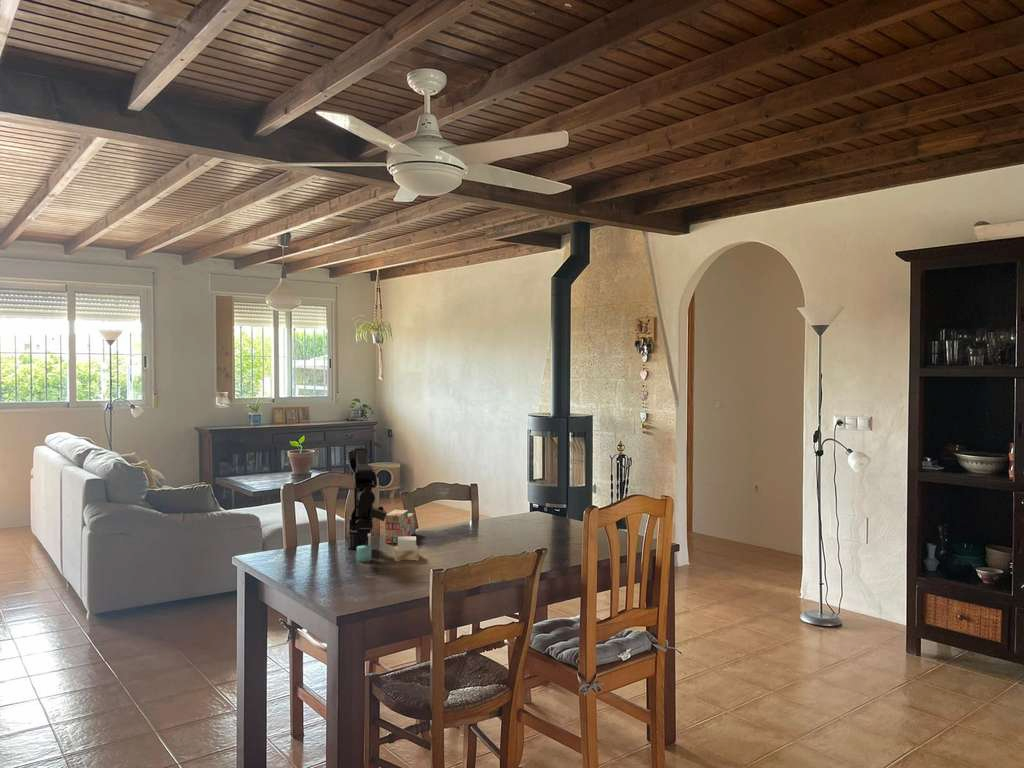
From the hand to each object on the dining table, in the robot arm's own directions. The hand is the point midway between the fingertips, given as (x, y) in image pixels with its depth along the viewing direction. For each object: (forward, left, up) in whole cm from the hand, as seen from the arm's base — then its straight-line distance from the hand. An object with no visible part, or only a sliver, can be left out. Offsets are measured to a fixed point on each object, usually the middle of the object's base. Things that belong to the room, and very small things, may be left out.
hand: (364, 542), depth 299 cm
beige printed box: (-3, +39, -7) cm, 40 cm away
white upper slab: (+14, +8, -3) cm, 17 cm away
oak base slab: (+14, +8, -7) cm, 18 cm away
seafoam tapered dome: (0, 0, -7) cm, 7 cm away
